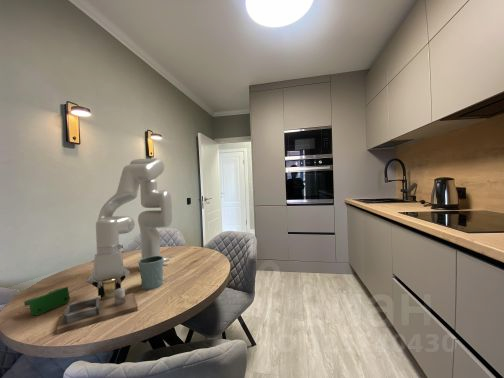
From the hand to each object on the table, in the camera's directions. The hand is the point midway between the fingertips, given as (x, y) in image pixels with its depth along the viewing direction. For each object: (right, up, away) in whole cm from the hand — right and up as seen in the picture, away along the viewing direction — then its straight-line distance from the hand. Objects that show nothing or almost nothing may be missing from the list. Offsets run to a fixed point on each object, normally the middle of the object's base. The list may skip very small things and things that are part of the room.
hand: (109, 294), depth 91 cm
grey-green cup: (+12, -1, +10) cm, 16 cm away
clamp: (-19, -3, -6) cm, 21 cm away
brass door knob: (0, -2, 0) cm, 2 cm away
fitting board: (+4, -1, -11) cm, 12 cm away
